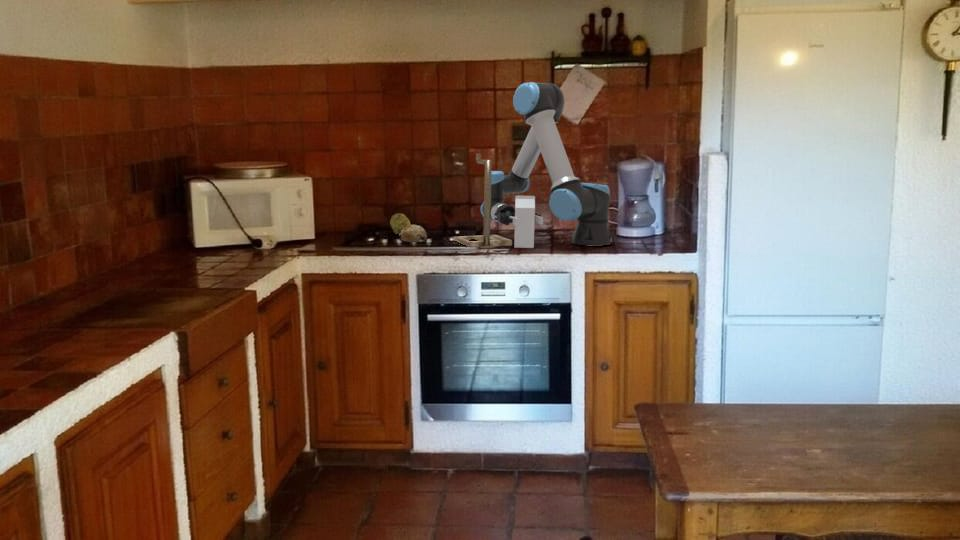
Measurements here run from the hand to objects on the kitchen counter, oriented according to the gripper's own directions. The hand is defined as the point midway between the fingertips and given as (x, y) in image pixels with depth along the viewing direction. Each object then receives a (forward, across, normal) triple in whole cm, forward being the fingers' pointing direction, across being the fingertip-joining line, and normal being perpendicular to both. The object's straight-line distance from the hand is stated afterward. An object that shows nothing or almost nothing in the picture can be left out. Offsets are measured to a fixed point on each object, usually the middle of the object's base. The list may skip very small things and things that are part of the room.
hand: (530, 221), depth 337 cm
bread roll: (-31, +34, -10) cm, 47 cm away
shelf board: (-15, +12, -10) cm, 22 cm away
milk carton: (-4, 0, -10) cm, 11 cm away
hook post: (-11, +14, -10) cm, 21 cm away
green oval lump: (-46, +34, -10) cm, 58 cm away
